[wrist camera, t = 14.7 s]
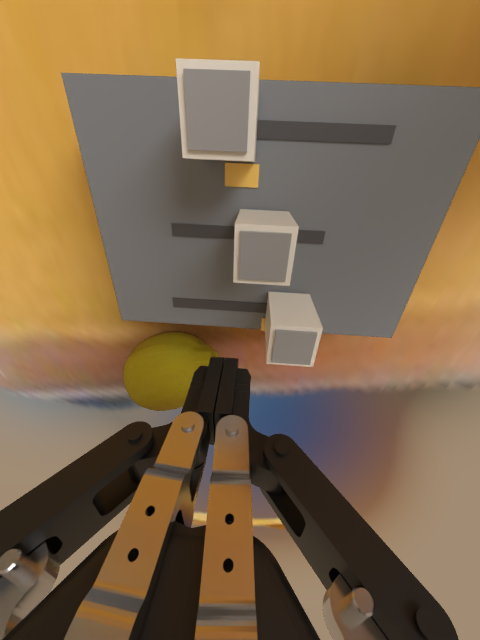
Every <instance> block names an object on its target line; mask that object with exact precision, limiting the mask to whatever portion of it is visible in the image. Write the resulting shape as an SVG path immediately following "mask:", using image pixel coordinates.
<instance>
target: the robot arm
mask: <svg viewBox="0 0 480 640" xmlns="http://www.w3.org/2000/svg"><path fill="white" fill-rule="evenodd" d="M250 380H251V376H250V374H249V372H248V370H247V369H240V368H238V359H236V358H225V360H224V358H221V357H211V358H210V361H209V365H208V366H200V367H199V368H198V369H197V370H196V371H195V372H194V375H193V378H192V381H191V384H190V388H189V390H188V393H187V396H186V400H185V403H184V406H183V409H182V412H181V414H180V415H178V416H177V417H176V418H175V419H174V421H173V422H171V423H170V424H167V425H164V426H159V427H155V428H151V426H150V425H149V424H148V423H146V422H134V423H131V424H129V425H127V426H126V427H124V428H123V429H122V430H120V431H118V432H117V433H115V434H114V435H113V436H111V437H110V438H108V439H107V440H105V441H104V442H102V443H101V444H99V445H98V446H96V447H95V448H93V449H92V450H90V451H89V452H87V453H86V454H84V455H83V456H81V457H80V458H78V459H77V460H75V461H74V462H72V463H71V464H69V465H68V466H66V467H65V468H63V469H62V470H60V471H59V472H58V473H56V474H55V475H53V476H52V477H50V478H49V479H47V480H46V481H44V482H43V483H41V484H40V485H38V486H37V487H36V488H34V489H32V490H31V491H29V492H28V493H26V494H25V495H23V496H22V497H20V498H19V499H17V500H16V501H14V502H13V503H12V504H10V505H9V506H7V507H5V508H4V509H3V510H1V511H0V640H320V638H319V637H318V635H317V633H316V631H315V629H314V627H313V626H312V624H311V622H310V620H309V618H308V616H307V615H306V613H305V611H304V609H303V608H302V606H301V604H300V602H299V600H298V598H297V596H296V595H295V593H294V591H293V589H292V587H291V586H290V584H289V582H288V580H287V578H286V576H285V575H284V573H283V571H282V569H281V567H280V565H279V564H278V562H277V560H276V558H275V557H274V556H273V554H272V553H271V551H270V550H269V549H268V548H267V547H266V546H265V545H264V544H263V543H262V542H261V541H260V540H259V539H257V538H256V537H254V536H253V525H252V497H251V484H254V485H256V486H258V487H260V489H261V491H262V493H263V495H264V496H265V497H266V499H267V501H268V502H269V504H270V505H271V507H272V508H273V510H274V511H275V513H276V514H277V516H278V517H279V519H280V520H281V522H282V523H283V525H284V526H285V528H286V529H287V531H288V532H289V534H290V535H291V537H292V538H293V540H294V541H295V543H296V544H297V546H298V547H299V549H300V550H301V552H302V553H303V555H304V556H305V558H306V559H307V561H308V563H309V564H310V566H311V567H312V569H313V570H314V572H315V573H316V574H317V576H318V578H319V579H320V580H321V582H322V584H323V585H324V587H325V588H326V590H327V591H326V593H325V595H324V598H323V615H324V620H325V623H326V626H327V628H328V630H329V633H330V635H331V636H332V639H333V640H458V636H457V634H456V631H455V628H454V626H453V624H452V622H451V620H450V618H449V617H448V615H447V613H446V612H445V611H444V609H443V608H442V607H441V605H440V604H439V603H438V602H437V601H436V600H435V599H434V598H433V596H432V595H431V594H430V593H429V592H428V591H427V590H426V589H425V587H424V586H423V585H422V584H421V583H420V582H419V581H418V580H417V578H416V577H415V576H414V575H413V574H412V573H411V572H410V571H409V570H408V568H407V567H406V566H405V565H404V564H403V563H402V562H401V561H400V559H399V558H398V557H397V556H396V555H395V554H394V553H393V552H392V550H391V549H390V548H389V547H388V546H387V545H386V544H385V543H384V542H383V540H382V539H381V538H380V537H379V536H378V535H377V534H376V533H375V531H374V530H373V529H372V528H371V527H370V526H369V525H368V524H367V522H366V521H365V520H364V519H363V518H362V517H361V516H360V515H359V513H358V512H357V511H356V510H355V509H354V508H353V507H352V506H351V504H350V503H349V502H348V501H347V500H346V499H345V498H344V497H343V496H342V495H341V493H340V492H339V491H338V490H337V489H336V488H335V487H334V486H333V484H332V483H331V482H330V481H329V480H328V479H327V478H326V476H325V475H324V474H323V473H322V472H321V471H320V470H319V469H318V468H317V466H316V465H314V463H313V462H312V461H311V460H310V459H309V458H308V456H307V455H306V454H305V453H304V452H303V451H302V450H301V448H300V447H299V446H298V445H297V444H296V443H295V442H294V441H293V440H292V439H291V438H290V437H288V436H286V435H283V434H274V435H272V436H270V437H268V436H266V435H263V434H261V433H259V432H257V431H256V430H254V428H253V427H252V426H251V424H250V422H249V417H248V416H249V399H250ZM214 443H215V448H214V458H213V470H212V476H211V479H210V489H209V500H208V511H207V521H206V525H205V526H200V527H195V528H191V526H192V521H193V514H194V506H195V502H196V498H197V494H198V490H199V487H200V483H201V479H202V475H203V471H204V468H205V464H206V457H207V452H208V447H209V444H212V445H214ZM130 503H131V504H130ZM128 504H130V506H129V508H128V511H127V513H126V515H125V517H124V520H123V521H122V524H121V526H120V528H119V530H118V531H116V532H115V533H113V534H112V535H110V536H109V537H108V538H107V539H105V540H104V541H103V542H102V543H101V544H100V545H99V546H98V547H97V548H96V549H95V550H94V551H93V552H92V553H91V554H90V555H89V556H88V557H86V559H85V560H83V562H81V563H80V564H79V565H78V566H77V567H76V568H75V569H74V570H73V571H72V572H71V573H70V574H69V575H68V576H67V577H66V578H65V579H64V580H63V581H62V582H61V583H60V584H59V585H58V586H57V587H56V588H55V589H54V590H53V591H51V592H50V590H51V589H52V587H53V585H54V583H55V581H56V579H57V576H58V573H59V568H60V564H62V563H63V562H64V561H65V560H66V559H68V558H69V557H70V556H71V555H72V554H73V553H74V552H75V551H77V550H78V549H79V548H80V547H81V546H82V545H83V544H85V543H86V542H87V541H88V540H89V539H90V538H91V537H92V536H93V535H95V534H96V533H97V532H98V531H99V530H100V529H101V528H103V527H104V526H105V525H106V524H107V523H108V522H109V521H111V520H112V519H113V518H114V517H115V516H116V515H117V514H118V513H120V512H121V511H122V510H123V509H124V508H125V507H126V506H127V505H128ZM49 592H50V593H49ZM48 593H49V594H48ZM47 594H48V595H47ZM46 595H47V596H46ZM45 596H46V597H45ZM44 597H45V598H44ZM43 598H44V599H43ZM42 599H43V600H42ZM41 600H42V601H41ZM40 601H41V602H40ZM39 602H40V603H39Z"/></svg>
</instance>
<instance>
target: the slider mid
mask: <svg viewBox="0 0 480 640" xmlns="http://www.w3.org/2000/svg"><path fill="white" fill-rule="evenodd" d="M298 229H299V226H298V225H297V223H296V222H295V220H294V219H293V217H292V215H291V214H290V212H289V211H272V210H252V209H240V211H239V214H238V216H237V219H236V222H235V234H234V272H233V283H249V284H265V285H282V286H290V281H291V274H292V268H293V262H294V255H295V249H296V242H297V236H298Z"/></svg>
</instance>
